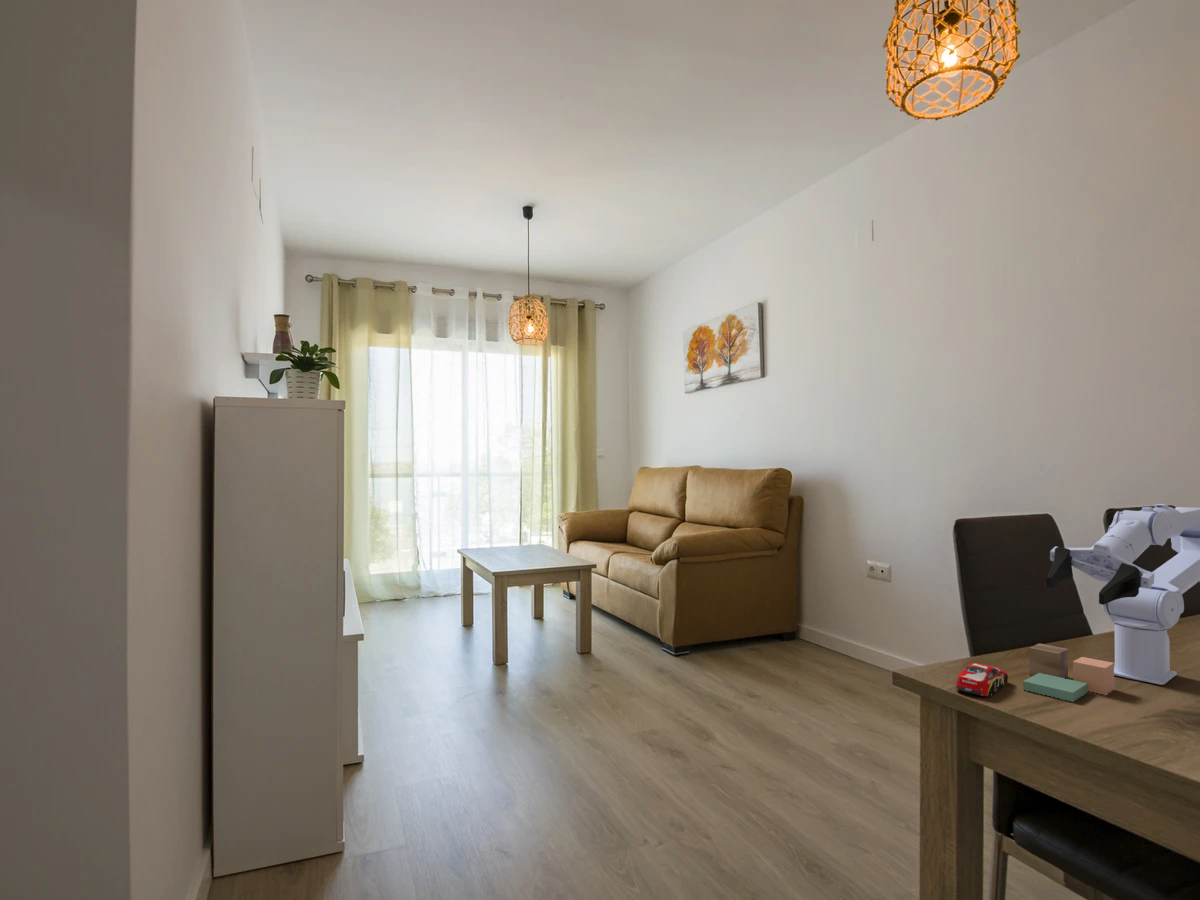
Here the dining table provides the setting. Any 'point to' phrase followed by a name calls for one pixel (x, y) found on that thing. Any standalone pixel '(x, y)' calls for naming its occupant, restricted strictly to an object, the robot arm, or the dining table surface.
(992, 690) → the race car
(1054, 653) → the walnut brick
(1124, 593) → the robot arm
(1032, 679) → the base plate
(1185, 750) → the dining table surface
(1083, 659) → the terracotta brick
